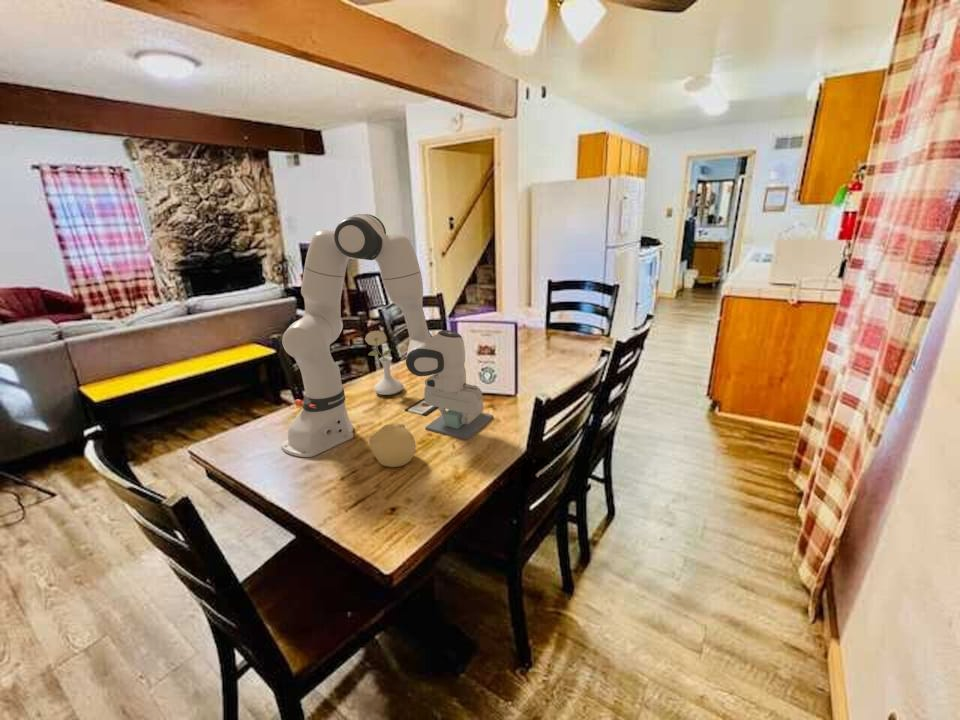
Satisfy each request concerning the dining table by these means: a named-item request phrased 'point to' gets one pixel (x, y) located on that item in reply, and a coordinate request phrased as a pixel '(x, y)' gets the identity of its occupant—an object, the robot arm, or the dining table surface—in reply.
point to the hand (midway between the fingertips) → (454, 421)
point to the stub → (453, 418)
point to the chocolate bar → (421, 408)
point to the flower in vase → (388, 382)
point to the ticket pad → (465, 430)
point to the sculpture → (393, 445)
